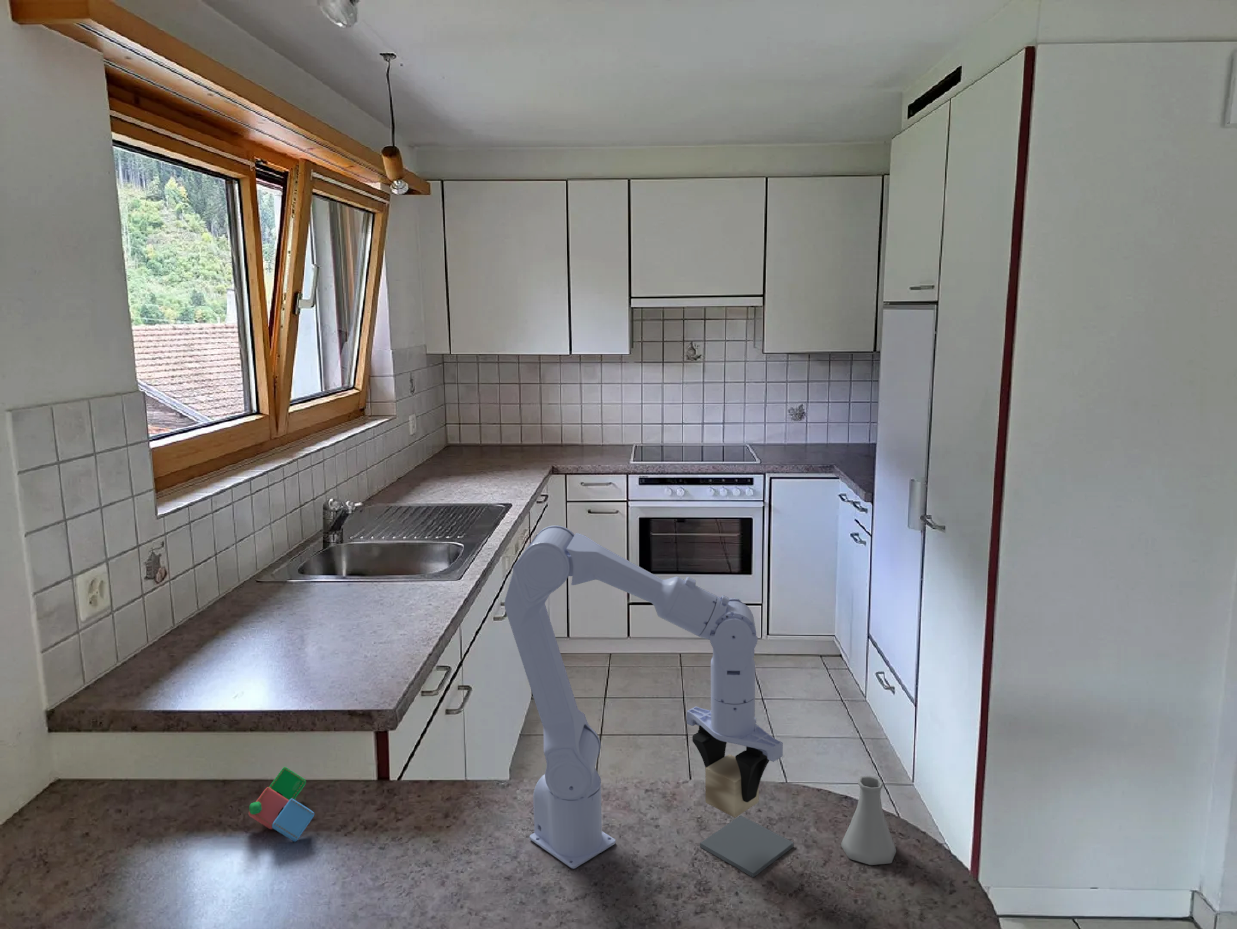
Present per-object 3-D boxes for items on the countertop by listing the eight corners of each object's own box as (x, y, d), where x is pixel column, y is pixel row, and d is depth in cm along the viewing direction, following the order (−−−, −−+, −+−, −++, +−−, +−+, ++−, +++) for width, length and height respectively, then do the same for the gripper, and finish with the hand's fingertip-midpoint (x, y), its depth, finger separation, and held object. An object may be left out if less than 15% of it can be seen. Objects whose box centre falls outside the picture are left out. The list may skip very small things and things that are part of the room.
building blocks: (293, 847, 123) (296, 840, 113) (246, 817, 123) (245, 808, 113) (327, 797, 128) (333, 787, 118) (281, 768, 127) (284, 756, 117)
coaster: (700, 847, 114) (700, 843, 114) (740, 819, 120) (740, 815, 120) (753, 877, 108) (753, 873, 107) (793, 846, 114) (793, 842, 114)
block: (705, 802, 112) (705, 768, 111) (729, 787, 115) (729, 754, 114) (735, 818, 108) (735, 782, 107) (758, 802, 111) (758, 767, 111)
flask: (899, 870, 109) (902, 799, 107) (841, 863, 110) (843, 794, 108) (893, 836, 116) (895, 770, 114) (839, 831, 117) (841, 765, 115)
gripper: (797, 701, 106) (796, 799, 109) (709, 669, 117) (710, 759, 119) (763, 720, 102) (763, 822, 104) (675, 685, 112) (676, 778, 114)
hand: (732, 790), depth 111 cm, fingers closed on block, 5 cm apart
